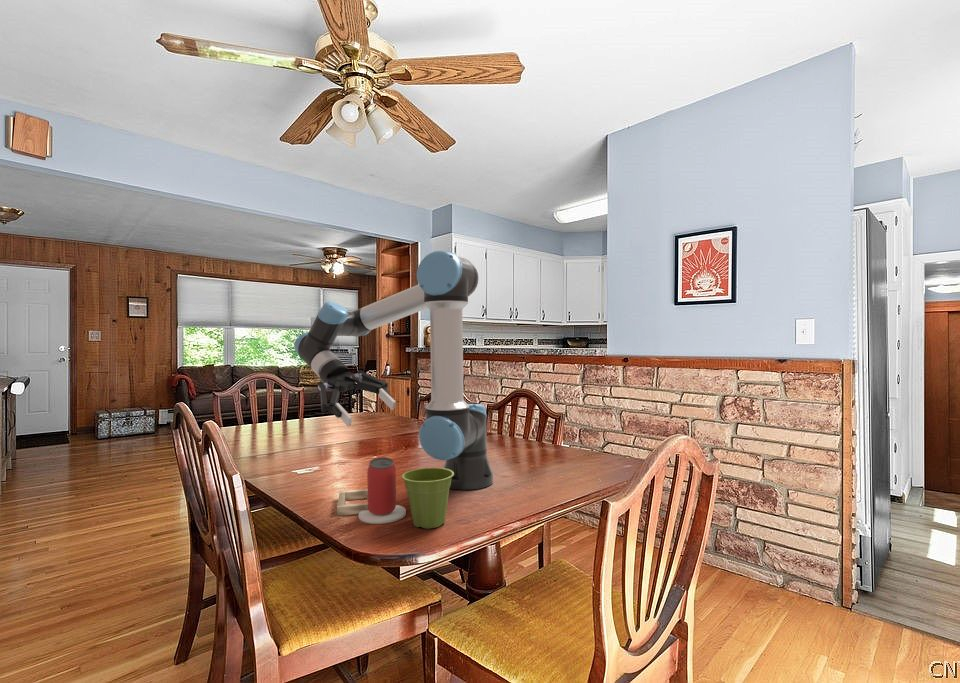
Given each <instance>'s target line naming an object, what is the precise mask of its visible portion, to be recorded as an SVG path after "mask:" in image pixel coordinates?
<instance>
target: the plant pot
mask: <svg viewBox="0 0 960 683" xmlns="http://www.w3.org/2000/svg"><path fill="white" fill-rule="evenodd" d="M453 476H454V472H453V471H452V470H449V469H445V468H444V467H422V468H416V469H411V470H408V471H406V472H405V471H404V473H402V475H401V479H402V480H403V481H404V487H405V489H406V492H407V497H408V501H409V507H410V514H411V517H412V523H413V525H414V527H417V528H419V527H421V528H422V529H425V530H426V529H430V530H431V529H435V528H438V527H441V526H442V525H443V524H445V523H446V518H447V517H446V516H447V509H448V501H449V495H450V488H449V487H450V485H451V479H452V477H453Z"/></svg>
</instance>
